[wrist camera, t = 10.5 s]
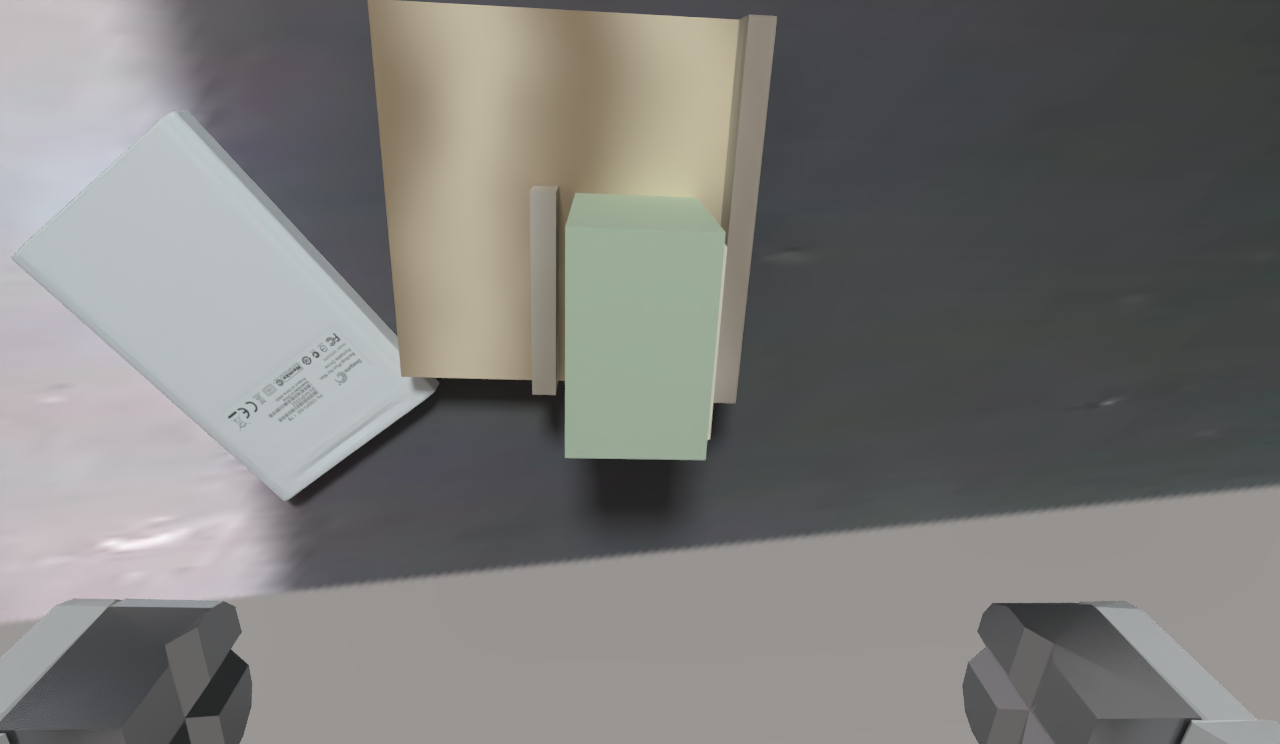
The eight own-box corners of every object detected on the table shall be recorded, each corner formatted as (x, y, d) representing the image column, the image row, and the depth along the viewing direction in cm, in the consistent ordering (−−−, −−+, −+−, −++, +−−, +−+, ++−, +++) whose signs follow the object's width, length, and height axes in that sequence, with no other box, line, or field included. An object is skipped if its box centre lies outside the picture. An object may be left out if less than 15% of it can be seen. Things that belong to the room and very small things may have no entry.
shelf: (415, 356, 27) (388, 394, 23) (387, 6, 22) (348, -9, 19) (722, 364, 27) (738, 403, 24) (755, 26, 23) (780, 16, 20)
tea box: (573, 376, 25) (564, 458, 20) (575, 192, 23) (565, 226, 17) (688, 379, 25) (710, 460, 20) (701, 197, 23) (731, 232, 17)
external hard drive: (197, 108, 24) (444, 377, 28) (41, 250, 25) (296, 485, 29) (169, 109, 22) (434, 394, 26) (5, 260, 24) (279, 507, 28)
